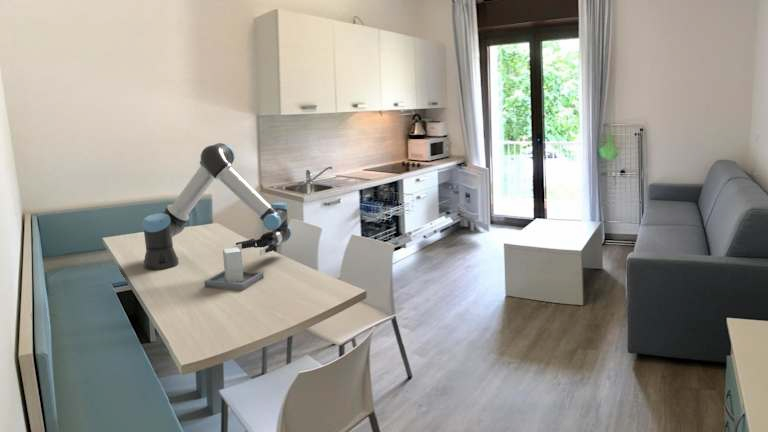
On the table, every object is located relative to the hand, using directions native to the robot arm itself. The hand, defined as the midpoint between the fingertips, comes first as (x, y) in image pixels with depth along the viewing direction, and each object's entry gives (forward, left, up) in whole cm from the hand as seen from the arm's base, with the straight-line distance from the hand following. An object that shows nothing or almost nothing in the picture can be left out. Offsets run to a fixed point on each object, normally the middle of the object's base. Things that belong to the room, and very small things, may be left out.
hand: (246, 251), depth 240 cm
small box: (0, -11, -10) cm, 14 cm away
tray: (0, -11, -10) cm, 15 cm away
